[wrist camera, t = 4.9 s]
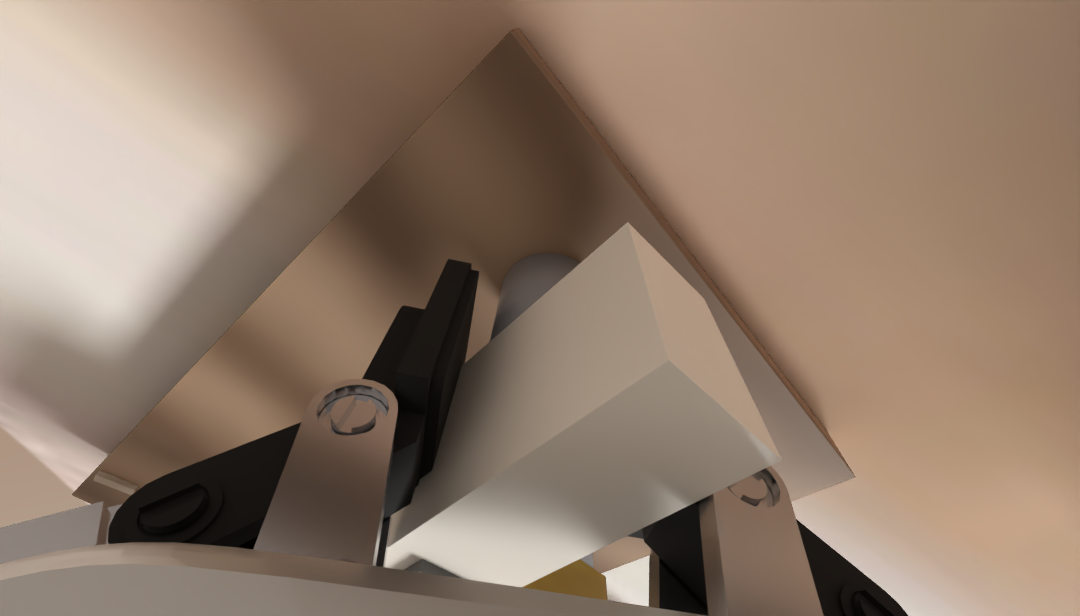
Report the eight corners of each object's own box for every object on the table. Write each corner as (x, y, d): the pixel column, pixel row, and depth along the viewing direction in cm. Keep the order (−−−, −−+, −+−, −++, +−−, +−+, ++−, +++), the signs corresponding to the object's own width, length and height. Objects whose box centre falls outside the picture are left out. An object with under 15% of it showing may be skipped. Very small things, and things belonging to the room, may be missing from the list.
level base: (518, 28, 11) (437, 65, 4) (829, 434, 18) (998, 706, 11) (110, 456, 21) (-121, 684, 14) (414, 609, 29) (364, 811, 21)
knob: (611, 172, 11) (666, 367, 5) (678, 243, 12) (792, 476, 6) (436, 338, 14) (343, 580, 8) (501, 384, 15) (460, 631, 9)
